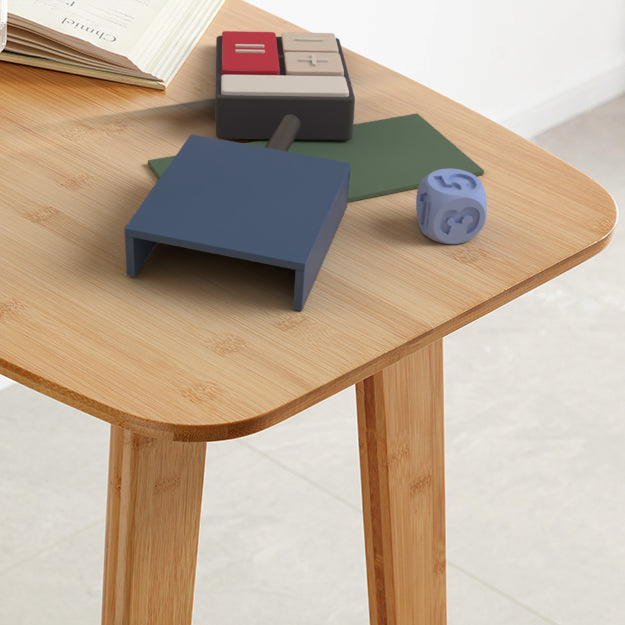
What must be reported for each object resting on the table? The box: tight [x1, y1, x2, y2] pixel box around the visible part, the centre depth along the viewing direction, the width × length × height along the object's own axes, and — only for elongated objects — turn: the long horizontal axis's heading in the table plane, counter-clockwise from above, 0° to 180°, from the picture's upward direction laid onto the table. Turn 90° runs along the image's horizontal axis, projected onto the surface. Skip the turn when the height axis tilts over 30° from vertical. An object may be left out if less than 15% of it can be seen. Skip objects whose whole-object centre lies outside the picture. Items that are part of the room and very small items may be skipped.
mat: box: [147, 112, 485, 203], centre depth 88 cm, size 24×10×1 cm, turn 116°
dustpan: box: [123, 115, 351, 312], centre depth 80 cm, size 4×12×19 cm
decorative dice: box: [415, 169, 488, 245], centre depth 81 cm, size 4×4×4 cm
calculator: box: [214, 30, 356, 140], centre depth 96 cm, size 11×4×15 cm
